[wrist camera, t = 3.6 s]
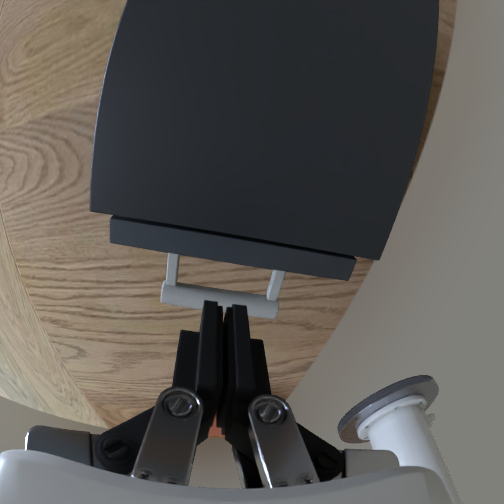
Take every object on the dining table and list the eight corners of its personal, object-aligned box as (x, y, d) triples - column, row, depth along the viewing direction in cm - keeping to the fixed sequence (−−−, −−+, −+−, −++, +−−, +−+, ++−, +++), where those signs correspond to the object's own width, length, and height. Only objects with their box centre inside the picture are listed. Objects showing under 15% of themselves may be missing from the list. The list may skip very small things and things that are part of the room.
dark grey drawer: (291, 280, 22) (315, 351, 15) (147, 257, 20) (114, 324, 13) (354, 50, 14) (418, 23, 7) (190, 11, 13) (168, -44, 6)
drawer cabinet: (319, 200, 20) (379, 261, 12) (150, 169, 18) (88, 212, 10) (362, 27, 14) (439, -11, 6) (194, -14, 12) (172, -88, 4)
